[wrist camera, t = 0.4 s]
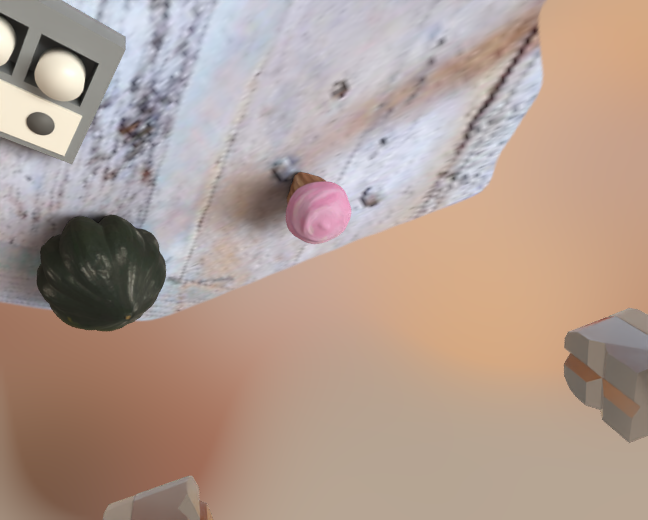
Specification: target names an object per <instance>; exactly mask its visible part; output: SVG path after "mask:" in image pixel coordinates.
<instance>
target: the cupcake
mask: <svg viewBox="0 0 648 520" xmlns="http://www.w3.org/2000/svg"><path fill="white" fill-rule="evenodd" d="M287 204H288V206H287V209H286V223H287V226H288V229H289V230H290V232H291V233H292V234H293V235H294V236H296V237H298V238H299V239H301V240H303V241H305V242H307V243H311V244H319V243H324V242H327V241H329V240H331V239H333V238H335V237H337V236H339V235H340V234H341V233H342V232H343V231H344V230H345V228H346V226H347V224H348V222H349V220H350V216H351V207H350V204H349V201H348V198H347V195H346V193H345V191H344V190H343V189H342V188H341V187H340V186H339V185H337V184H335V183H332V182H326V181H325V180H324V179H322V178H320V177H318V176H315V175H311V174H308V173H302V172H299V173H298V174H296V175H295V176H294V179H293V182H292V184H291V187H290V192H289V194H288V196H287Z"/></svg>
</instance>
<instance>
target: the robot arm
mask: <svg viewBox="0 0 648 520" xmlns="http://www.w3.org/2000/svg"><path fill="white" fill-rule="evenodd" d="M564 347H565V349H566V350H568V351H569V352H570V355H569V356H568V358H567V360H566V361H565V363H564V377H565V379H566V381H567V384H568V386H569V388H570V390H571V391H572V392H573V394H574V395H575V396H576V397H577V398H578V399H579V400H580V401H581V402H582V403H584V404H585V405H586V406H590V407H593V408H596V409H599V410H600V412H601V416H602V420H603V421H604V422H606V423H607V424H608V425H609V426H610V427H611V428H612V429H614V430H615V431H616V432H617V433H618V434H620V435H621V436H622V437H623V438H624V439H625V440H627V441H628V442H629V443H631V442H633V441H636V440H638V439H641V438H643V437H646V436H648V315H647V314H645V313H643V312H642V311H640V310H637V309H632V308H628V309H626V310H623V311H621V312H618V313H616V314H613V315H610V316H609V317H605V318H603V319H600V320H598V321H595V322H592V323H590V324H587V325H585V326H582V327H580V328H577V329H575V330H572V331H569V332H568V333H567V335H566V337H565V346H564ZM103 520H213V517H212V514H211V512H210V509H209V508H208V505H207V503H205V502H202V501H200V500H199V487H198V485H197V484H196V482H195V480H194V478H193V476H187V477H184V478H181V479H179V480H176V481H173V482H170V483H167V484H164V485H161V486H159V487H156V488H153V489H150V490H148V491H144V492H142V493H139V494H137V495H135V496H132V497H129V498H126V499H123V500H120V501H117V502H115V503H112V504H109V505H108V507H107V509H106V511H105V513H104V516H103Z"/></svg>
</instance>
